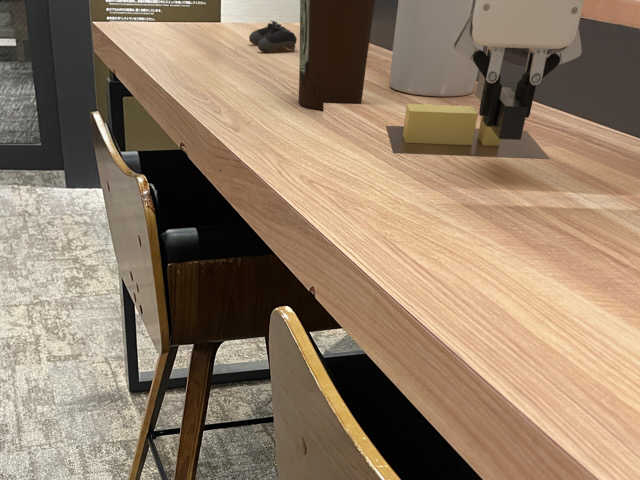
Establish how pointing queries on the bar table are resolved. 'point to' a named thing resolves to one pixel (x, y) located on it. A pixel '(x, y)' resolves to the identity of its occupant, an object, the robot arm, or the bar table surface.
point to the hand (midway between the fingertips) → (502, 122)
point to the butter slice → (487, 135)
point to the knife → (506, 112)
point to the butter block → (439, 124)
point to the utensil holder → (431, 49)
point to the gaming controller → (273, 38)
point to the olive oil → (333, 51)
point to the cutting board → (468, 147)
